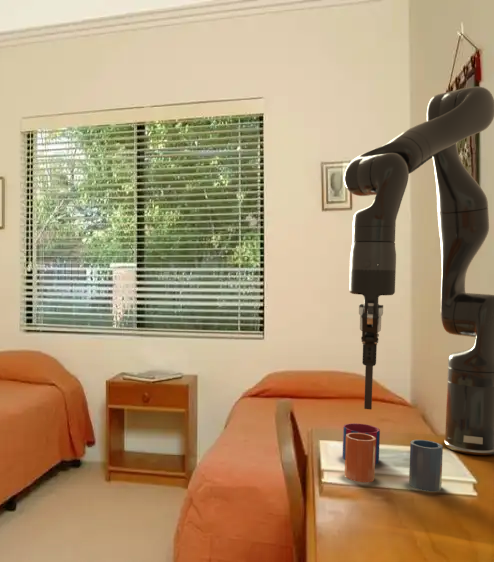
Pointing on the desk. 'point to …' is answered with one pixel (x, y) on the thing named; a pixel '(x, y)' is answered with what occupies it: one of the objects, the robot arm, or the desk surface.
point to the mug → (366, 430)
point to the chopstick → (368, 387)
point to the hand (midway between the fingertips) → (369, 364)
